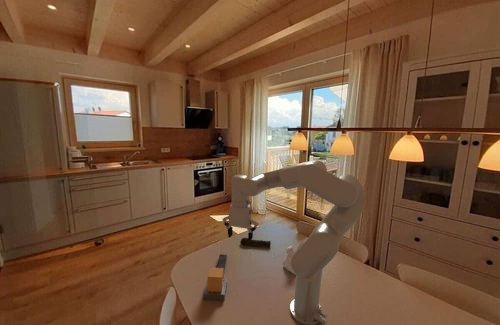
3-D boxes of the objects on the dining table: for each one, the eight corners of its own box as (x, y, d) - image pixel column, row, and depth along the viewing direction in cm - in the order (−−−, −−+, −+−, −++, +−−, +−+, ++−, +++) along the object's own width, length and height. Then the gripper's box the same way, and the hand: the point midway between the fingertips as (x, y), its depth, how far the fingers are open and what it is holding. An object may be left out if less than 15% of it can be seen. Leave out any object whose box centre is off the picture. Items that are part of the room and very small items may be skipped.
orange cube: (223, 281, 98) (223, 268, 96) (221, 291, 92) (221, 277, 91) (210, 281, 98) (210, 267, 97) (207, 291, 92) (207, 276, 91)
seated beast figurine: (297, 276, 107) (298, 254, 105) (280, 271, 110) (281, 250, 108) (300, 265, 116) (301, 245, 114) (284, 260, 119) (286, 241, 117)
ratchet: (224, 300, 91) (224, 288, 90) (203, 299, 91) (203, 287, 90) (231, 258, 119) (231, 249, 118) (215, 258, 120) (215, 248, 118)
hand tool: (270, 245, 134) (270, 238, 133) (270, 249, 130) (270, 242, 129) (241, 242, 137) (241, 235, 136) (240, 245, 133) (240, 238, 132)
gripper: (260, 201, 96) (260, 237, 99) (226, 197, 101) (226, 231, 104) (256, 207, 89) (255, 245, 91) (218, 203, 94) (219, 238, 97)
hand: (240, 238), depth 98 cm, fingers open, 9 cm apart
